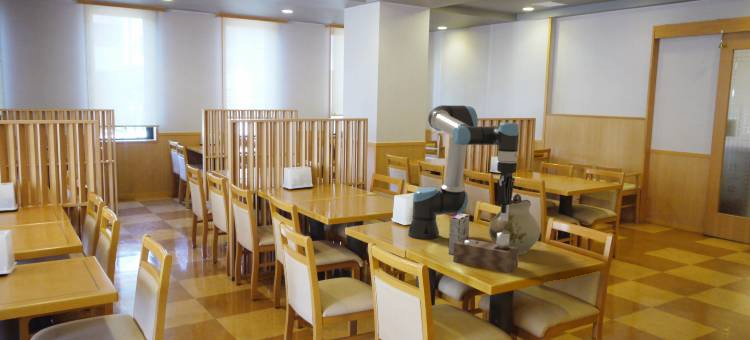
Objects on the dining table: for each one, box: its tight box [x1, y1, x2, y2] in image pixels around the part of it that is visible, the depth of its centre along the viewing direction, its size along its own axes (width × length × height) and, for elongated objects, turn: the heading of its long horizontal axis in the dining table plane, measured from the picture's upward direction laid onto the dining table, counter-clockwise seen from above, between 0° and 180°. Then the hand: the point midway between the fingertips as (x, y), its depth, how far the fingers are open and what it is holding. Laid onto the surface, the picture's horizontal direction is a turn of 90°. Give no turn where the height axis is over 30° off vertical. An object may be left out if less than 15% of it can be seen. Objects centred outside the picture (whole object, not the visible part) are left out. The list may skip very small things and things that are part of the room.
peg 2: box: [496, 232, 510, 251], centre depth 230 cm, size 5×5×8 cm
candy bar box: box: [448, 213, 470, 256], centre depth 252 cm, size 11×5×16 cm, turn 148°
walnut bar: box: [452, 238, 519, 273], centre depth 234 cm, size 24×10×8 cm, turn 56°
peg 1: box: [464, 238, 478, 245], centre depth 238 cm, size 5×5×8 cm
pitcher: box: [488, 193, 541, 256], centre depth 256 cm, size 22×24×25 cm
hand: (504, 220), depth 228 cm, fingers closed
